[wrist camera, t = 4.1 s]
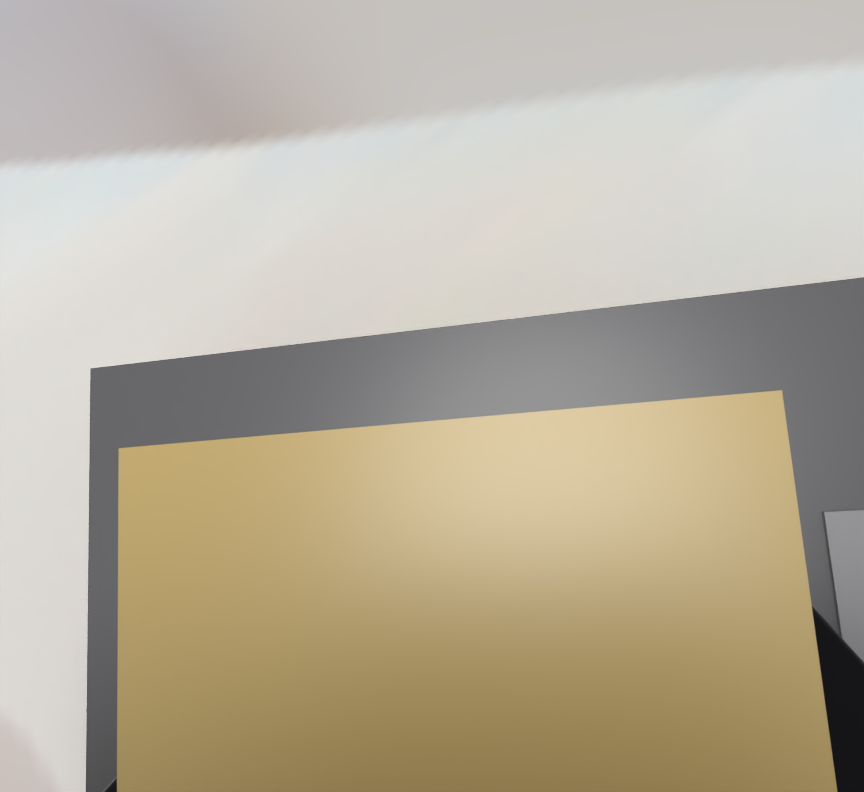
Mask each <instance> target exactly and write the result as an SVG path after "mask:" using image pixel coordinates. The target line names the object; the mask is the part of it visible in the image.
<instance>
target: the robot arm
mask: <svg viewBox="0 0 864 792" xmlns="http://www.w3.org/2000/svg"><path fill="white" fill-rule="evenodd" d="M812 612H813V619H814V626H815V633H816V641H817V648H818V655H819V662H820V670H821V677H822V684H823V691H824V699H825V706H826V713H827V720H828V728H829V735H830V742H831V749H832V756H833V764H834V771H835V778H836V785H837V792H864V662H863V661H862V659H861V658H860V657H859V656H858V655H857V654H856V653H855V652H854V651H853V650H852V649H851V647H850V646H849V645H848V644H847V643H846V642H845V641H844V640H843V639H842V638H841V636H840V635H839V634H838V633H837V632H836V631H835V630H834V629H833V628H832V627H831V626H830V624H829V623H828V622H827V621H826V620H825V619H824V618H823V617H822V616H821V615H820V614H819V612H818V611H817V610H816V609H815V608H814V607H813V606H812ZM103 792H117V777H116V778H115V779H114V780H113V781H112V782H111V783H110V784H109V786H108V787H107V788H106V789H105V790H104V791H103Z"/></svg>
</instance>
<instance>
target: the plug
mask: <svg viewBox="0 0 864 792" xmlns="http://www.w3.org/2000/svg"><path fill="white" fill-rule="evenodd" d="M117 792H837V785H836V778H835V771H834V764H833V756H832V749H831V742H830V735H829V728H828V720H827V713H826V706H825V699H824V691H823V684H822V677H821V670H820V662H819V655H818V648H817V641H816V633H815V626H814V619H813V612H812V604H811V597H810V590H809V583H808V575H807V568H806V561H805V554H804V546H803V539H802V532H801V525H800V517H799V510H798V503H797V496H796V488H795V481H794V474H793V467H792V459H791V452H790V445H789V438H788V430H787V423H786V416H785V409H784V401H783V394H782V390H779V391H767V392H756V393H744V394H733V395H722V396H710V397H699V398H687V399H676V400H664V401H653V402H642V403H630V404H619V405H607V406H596V407H584V408H573V409H562V410H550V411H539V412H527V413H516V414H504V415H493V416H482V417H470V418H459V419H447V420H436V421H425V422H413V423H402V424H390V425H379V426H367V427H356V428H345V429H333V430H322V431H310V432H299V433H287V434H276V435H265V436H253V437H242V438H230V439H219V440H207V441H196V442H185V443H173V444H162V445H150V446H139V447H128V448H119V474H118V674H117Z"/></svg>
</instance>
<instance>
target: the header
mask: <svg viewBox="0 0 864 792" xmlns="http://www.w3.org/2000/svg"><path fill="white" fill-rule="evenodd" d="M779 390H782V394H783V401H784V409H785V416H786V423H787V430H788V438H789V445H790V452H791V459H792V467H793V474H794V481H795V488H796V496H797V503H798V510H799V517H800V525H801V532H802V539H803V546H804V554H805V561H806V568H807V575H808V583H809V590H810V597H811V604H812V606H813V607H814V608H815V609H816V610H817V611H818V612H819V614H820V615H821V616H822V617H823V618H824V619H825V620H826V621H827V622H828V623H829V624H830V626H831V627H832V628H833V629H834V630H835V631H836V632H837V633H838V634H839V635H840V636H841V638H842V639H843V640H844V641H845V642H846V643H847V644H848V645H849V646H850V647H851V649H852V650H853V651H854V652H855V653H856V654H857V655H858V656H859V657H860V658H861V659H862V661H863V662H864V278H856V279H847V280H839V281H830V282H822V283H813V284H805V285H796V286H788V287H779V288H771V289H762V290H754V291H745V292H737V293H728V294H720V295H712V296H703V297H695V298H686V299H678V300H669V301H661V302H652V303H644V304H635V305H627V306H618V307H610V308H601V309H593V310H584V311H576V312H567V313H559V314H550V315H542V316H533V317H525V318H516V319H508V320H499V321H491V322H482V323H474V324H465V325H457V326H448V327H440V328H431V329H423V330H414V331H406V332H397V333H389V334H380V335H372V336H363V337H355V338H346V339H338V340H329V341H321V342H312V343H304V344H295V345H287V346H278V347H270V348H261V349H253V350H244V351H236V352H227V353H219V354H211V355H202V356H194V357H185V358H177V359H168V360H160V361H151V362H143V363H134V364H126V365H117V366H109V367H100V368H92V369H91V381H90V471H89V562H88V653H87V743H86V792H103V791H104V790H105V789H106V788H107V787H108V786H109V784H110V783H111V782H112V781H113V780H114V779H115V778H116V777H117V674H118V474H119V448H128V447H139V446H150V445H162V444H173V443H185V442H196V441H207V440H219V439H230V438H242V437H253V436H265V435H276V434H287V433H299V432H310V431H322V430H333V429H345V428H356V427H367V426H379V425H390V424H402V423H413V422H425V421H436V420H447V419H459V418H470V417H482V416H493V415H504V414H516V413H527V412H539V411H550V410H562V409H573V408H584V407H596V406H607V405H619V404H630V403H642V402H653V401H664V400H676V399H687V398H699V397H710V396H722V395H733V394H744V393H756V392H767V391H779Z"/></svg>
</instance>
